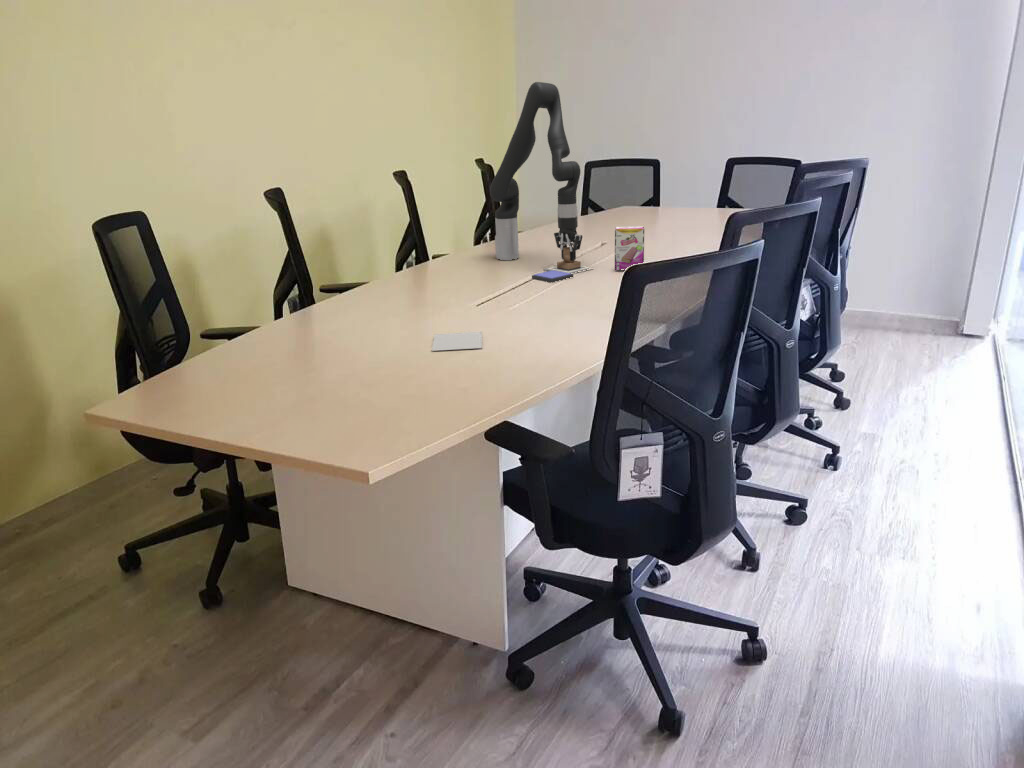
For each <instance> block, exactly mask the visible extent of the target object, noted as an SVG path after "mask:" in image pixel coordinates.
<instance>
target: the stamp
mask: <svg viewBox="0 0 1024 768" xmlns="http://www.w3.org/2000/svg"><path fill="white" fill-rule="evenodd" d="M563 256H564V260H562V261H557V262H556V266H557V269H562V270H568V271H570V270H574V269H578V268H581V265H582V263H581V262H582V261H580V260H575V261H570V247H569V246H567V247H564V248H563Z"/></svg>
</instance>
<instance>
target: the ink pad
mask: <svg viewBox="0 0 1024 768" xmlns="http://www.w3.org/2000/svg"><path fill="white" fill-rule="evenodd" d="M570 277H573V278H574V274H571V273H565V272H560V271H555V270H552V271H544V272H539V273H535V274H533V275H531V279H533V280H537V281H541V282H546V281H547V283H551V282H552V283H556V282H555V281H557V282H560V281H559V280H561V281H564V280H563V279H565V280H567V279H566V278H569V279H571V278H570Z"/></svg>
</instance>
